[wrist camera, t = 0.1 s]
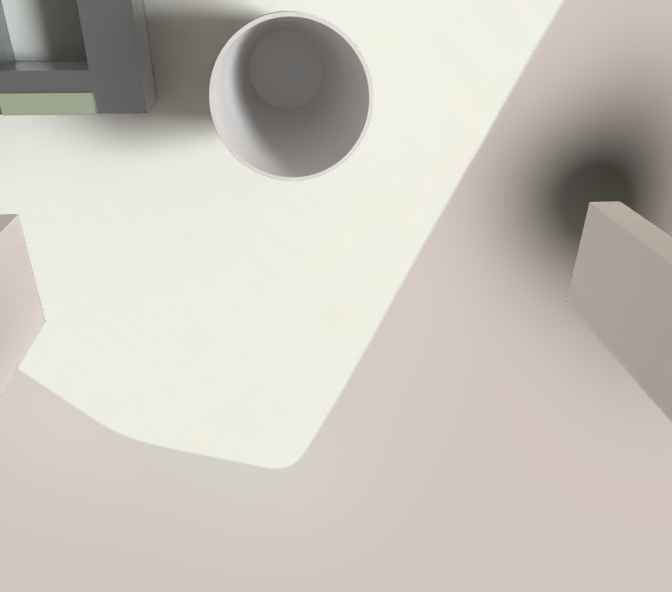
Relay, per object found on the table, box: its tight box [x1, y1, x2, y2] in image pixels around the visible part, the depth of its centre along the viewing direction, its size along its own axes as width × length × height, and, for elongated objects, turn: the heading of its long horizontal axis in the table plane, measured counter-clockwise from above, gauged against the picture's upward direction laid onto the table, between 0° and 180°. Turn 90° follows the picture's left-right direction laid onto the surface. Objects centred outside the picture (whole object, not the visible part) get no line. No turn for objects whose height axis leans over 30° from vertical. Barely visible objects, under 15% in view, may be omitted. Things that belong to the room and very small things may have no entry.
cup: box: [209, 11, 373, 181], centre depth 34 cm, size 8×8×10 cm
